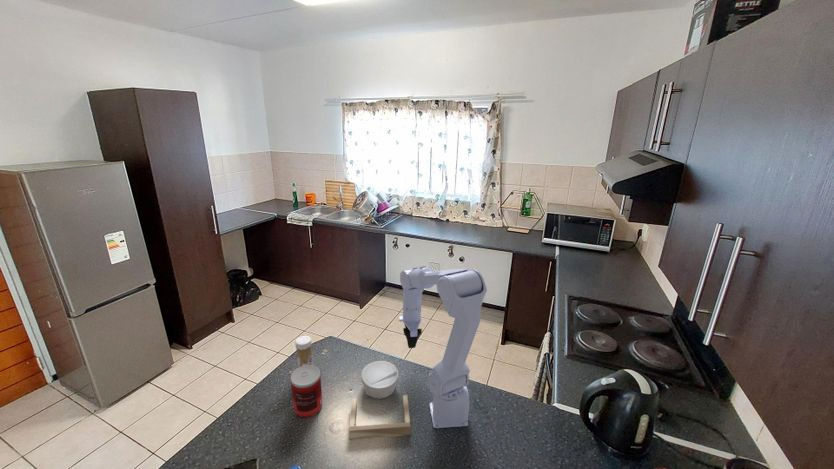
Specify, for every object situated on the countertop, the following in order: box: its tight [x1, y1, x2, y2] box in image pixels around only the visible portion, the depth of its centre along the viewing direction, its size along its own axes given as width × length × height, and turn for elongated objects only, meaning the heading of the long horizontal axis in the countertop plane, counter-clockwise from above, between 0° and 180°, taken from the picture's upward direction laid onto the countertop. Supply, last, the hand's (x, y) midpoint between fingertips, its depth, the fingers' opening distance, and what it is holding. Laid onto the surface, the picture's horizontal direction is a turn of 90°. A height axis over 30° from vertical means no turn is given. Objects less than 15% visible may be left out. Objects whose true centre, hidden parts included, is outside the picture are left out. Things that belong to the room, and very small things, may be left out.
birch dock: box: [348, 394, 411, 441], centre depth 86 cm, size 10×15×3 cm, turn 96°
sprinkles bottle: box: [294, 335, 314, 368], centre depth 99 cm, size 5×5×13 cm
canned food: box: [290, 364, 323, 418], centre depth 88 cm, size 8×8×11 cm
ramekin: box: [360, 360, 399, 400], centre depth 97 cm, size 11×11×5 cm
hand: (410, 341), depth 104 cm, fingers open, 5 cm apart
